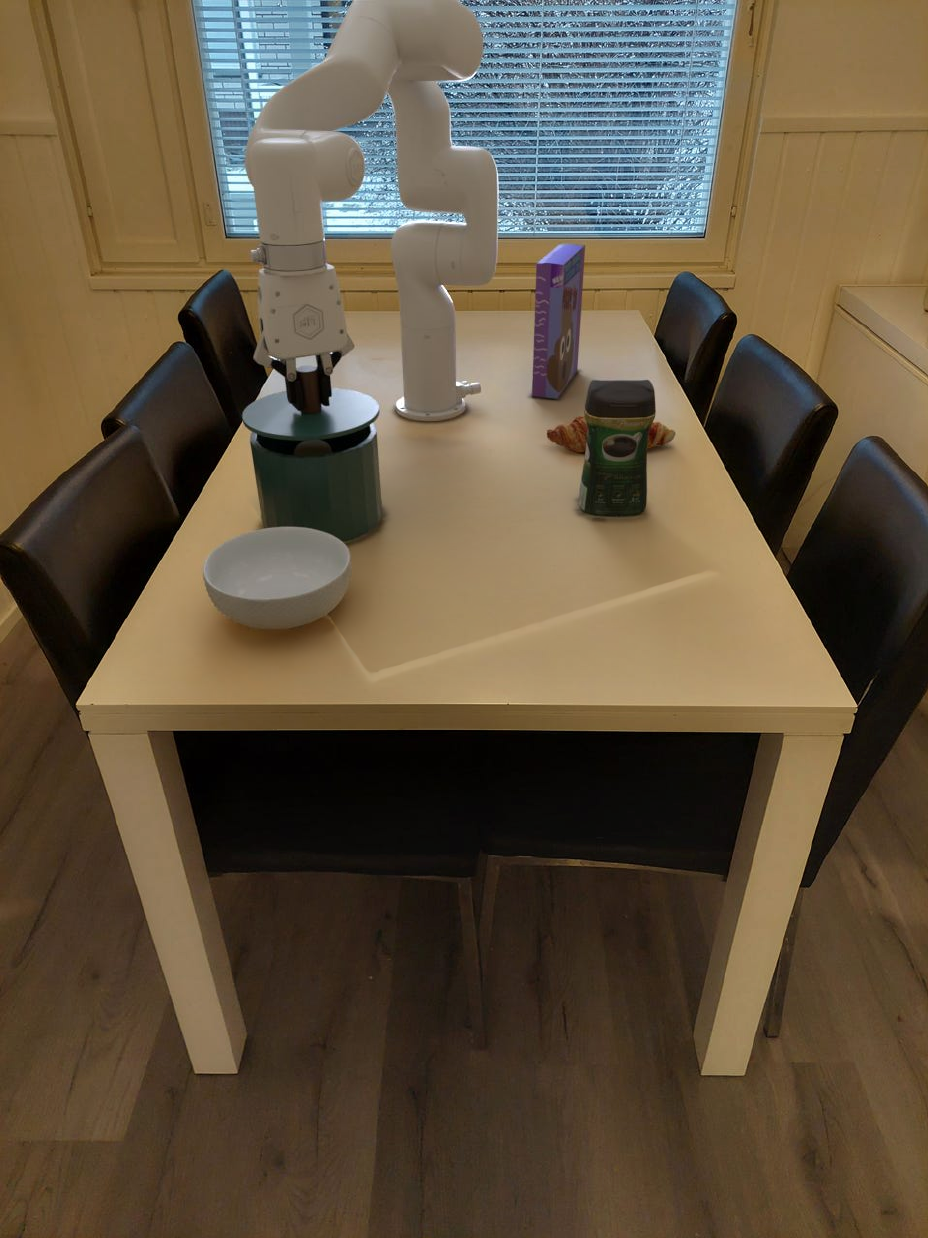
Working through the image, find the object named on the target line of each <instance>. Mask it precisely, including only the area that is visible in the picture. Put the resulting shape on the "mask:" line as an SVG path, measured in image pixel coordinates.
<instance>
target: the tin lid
mask: <svg viewBox="0 0 928 1238" xmlns="http://www.w3.org/2000/svg"><path fill="white" fill-rule="evenodd" d="M296 374H297V378H298V379H299V380H300V381H301V386H302V395H303V404H304V409H303V411H298V410H297V409H296V408H295V407H294V406H293V405H292V404H290V403H289V402H288V399H287V392H286V390H283V391H279V392H275V393H272V394H269V395H265V396H263V397H260V398H259V399H255V400H254V401H252V403H250V404H248V405H247V406H246V407H245V408H244V409H243V411H242V415H241V418H242V423H243V425H244V427H245V428H246V429H248V430H249V431H250V432H251V433H252V432H254V433H256V434H258V435H261V436H264V437H269V438H274V439H280V440H294V441H308V440H320V439H328V438H334V437H339V436H343V435H347V434H351V433H354V432H356V431H359V430H361V429H363V428H365V427H367V426H369V425H370V424H372V423H373V424H374V423H375V422H376V420H377V419H378V418H379V416H380V405H379V402H378V401H377V400H376V399H375V398H373V397H372V396H370V395H368V394H366V393H364V392H360V391H357V390H353V389H347V388H342V387H341V388H339V387H331V390H332V396H331V397H329V403H330V405H329V406H326V407H325V406H323V405H322V404H321V395H320V385H319V375H318V368H317V365H308V364H307V365H302V366H301V365H300V366H298V367H296Z"/></svg>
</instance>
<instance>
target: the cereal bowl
mask: <svg viewBox="0 0 928 1238" xmlns="http://www.w3.org/2000/svg"><path fill="white" fill-rule="evenodd" d="M202 576H203V577H202V578H203V582H204V586H205V591H206V593H207V595H208V597H209V599H210V602H211V603H212V604H213V606H214V607H215V608H216V609H217V610H218V611H219V612H220V613H221V614H222V615H224V616H225V617H226V618H228V619H230V620H231V621H233V622H235V623H236V624H240V625H243V626H245V627H250V628H253V629H259V630H260V629H261V630H283V629H291V628H297V627H301V626H304V625H308V624H310V623H313V622H314V621H318V620H319V619H321V618H323V617H325V616H326V615H328V614H329V613H331V612H332V611H334V609H335V608H336V607H337V606H338V605H339V604H340V603H341V601H342V600H343V598H344V596H346V594H347V591H348V588H349V586H350V583H351V576H352V557H351V552H350V550H349V548H348V546H347V544H345V543H344V542H342V541H341V540H339V539H338V538H336V537H335V536H333V535H331V534H328V533H325V532H322V531H319V530H315V529H310V528H303V527H273V528H265V529H264V528H260V529H255V530H251V531H247V532H244V533H241V534H238V535H236V536H234V537H231V538H230V539H227V540H225V541H223V542H222V543H220V544H219V545H217V547H215V548H214V549H213V550H212V551H211V552H210V553H209V554H208V555H207V556H206V558H205V560H204V562H203V566H202Z"/></svg>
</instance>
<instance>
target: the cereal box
mask: <svg viewBox="0 0 928 1238" xmlns="http://www.w3.org/2000/svg"><path fill="white" fill-rule="evenodd" d="M585 253H586V244H580V243H573V242H570V243H567V242H566V243H559V244H558V245H556V247H555V248H553V249H552V250H551V251H549V252H548V253H547V254H546V255H545V256H544V257H543V258H542V259H540V260H539V261H537V262H536V265H535V266H536V267H535V269H536V270H535V295H534V296H535V297H534V326H533V355H532V380H531V381H532V384H531V398H535V399H537V398H538V399H546V400H555V401H557V400H558V399H559V397H560V396H561V394H563V392H564V390H565V389H566V387H567V386H568V385H569V383H570V382H571V381H572V379H573V378H574V376H575V375H576V374H577V372H578V368H579V367H578V366H579V353H580V352H579V351H580V350H579V349H580V335H581V318H582V305H583V304H582V303H583V289H584V274H585V273H584V272H585V255H586V254H585Z"/></svg>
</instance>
